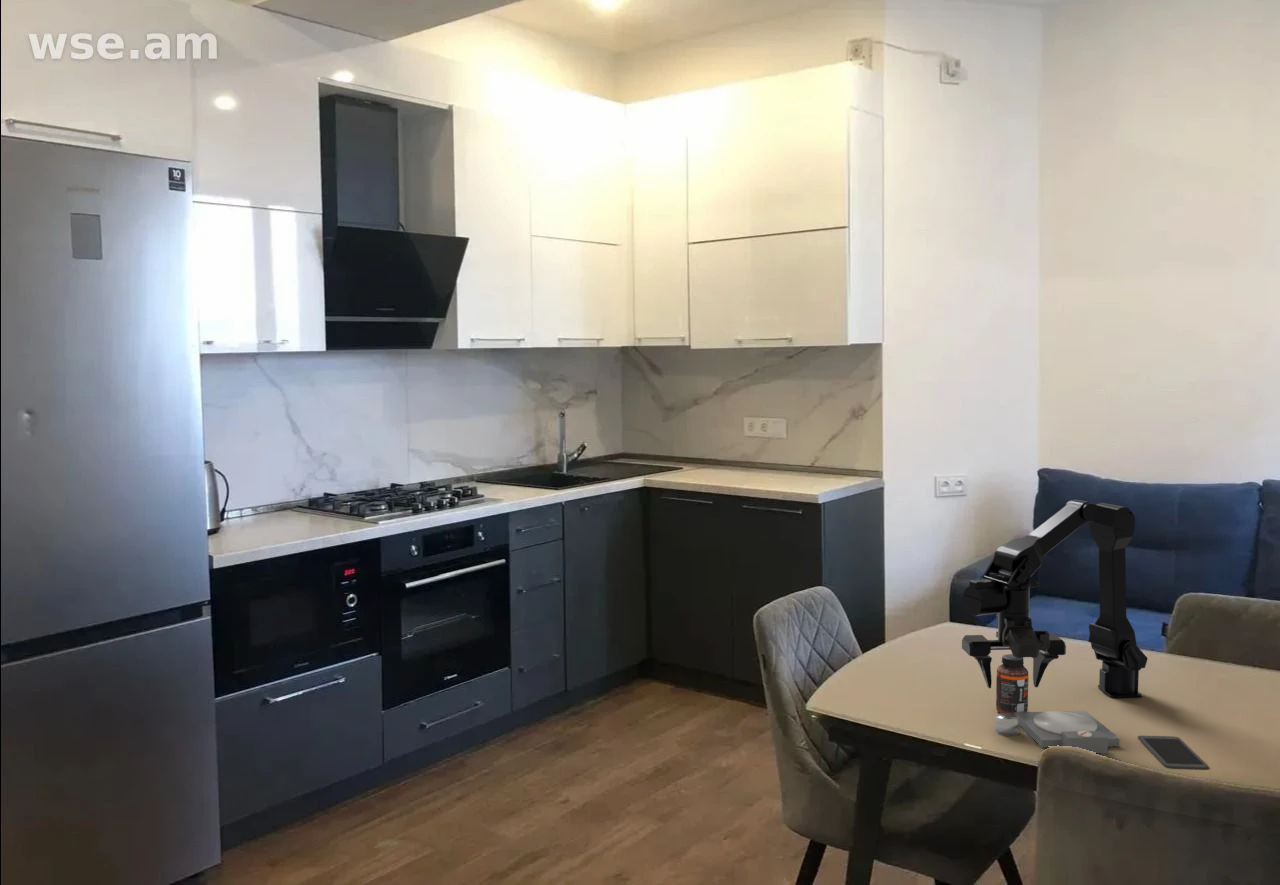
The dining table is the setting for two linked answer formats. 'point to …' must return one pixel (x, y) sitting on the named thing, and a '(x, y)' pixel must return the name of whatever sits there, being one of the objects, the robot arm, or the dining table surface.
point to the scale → (1067, 730)
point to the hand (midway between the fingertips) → (1012, 687)
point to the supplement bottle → (1012, 685)
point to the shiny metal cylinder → (1007, 724)
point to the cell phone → (1172, 752)
